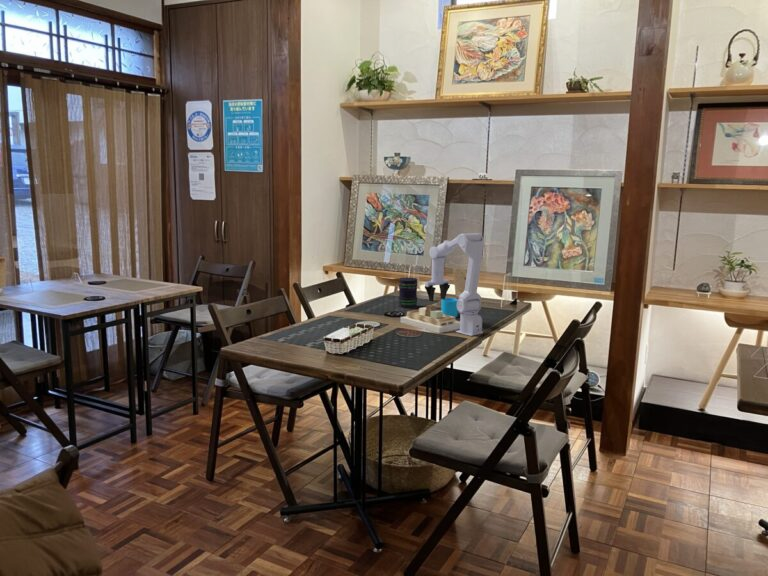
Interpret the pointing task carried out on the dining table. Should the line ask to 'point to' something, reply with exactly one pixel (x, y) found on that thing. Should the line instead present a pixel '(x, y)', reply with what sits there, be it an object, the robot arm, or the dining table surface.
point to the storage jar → (408, 293)
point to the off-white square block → (422, 311)
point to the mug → (449, 306)
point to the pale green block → (436, 314)
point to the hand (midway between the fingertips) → (437, 300)
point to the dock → (431, 325)
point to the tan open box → (428, 319)
